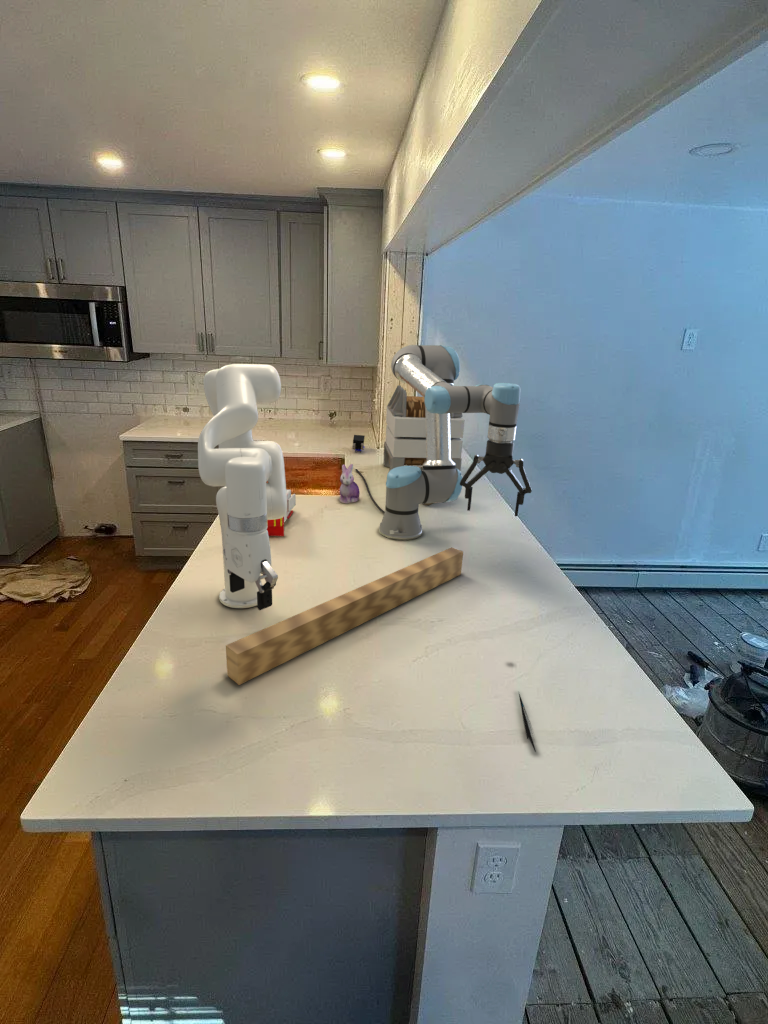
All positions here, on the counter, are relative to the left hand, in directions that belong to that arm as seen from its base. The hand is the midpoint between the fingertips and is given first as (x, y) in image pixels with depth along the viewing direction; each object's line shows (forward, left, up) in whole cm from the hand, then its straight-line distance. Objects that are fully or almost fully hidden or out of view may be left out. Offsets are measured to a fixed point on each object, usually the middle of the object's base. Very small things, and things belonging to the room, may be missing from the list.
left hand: (250, 598), depth 116 cm
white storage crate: (-142, +90, -18) cm, 169 cm away
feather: (+24, +51, -18) cm, 59 cm away
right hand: (-33, +71, +3) cm, 78 cm away
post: (-17, +29, -18) cm, 38 cm away
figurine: (-108, +46, -18) cm, 119 cm away
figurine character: (-190, +71, -18) cm, 203 cm away
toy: (-88, +15, -18) cm, 91 cm away
